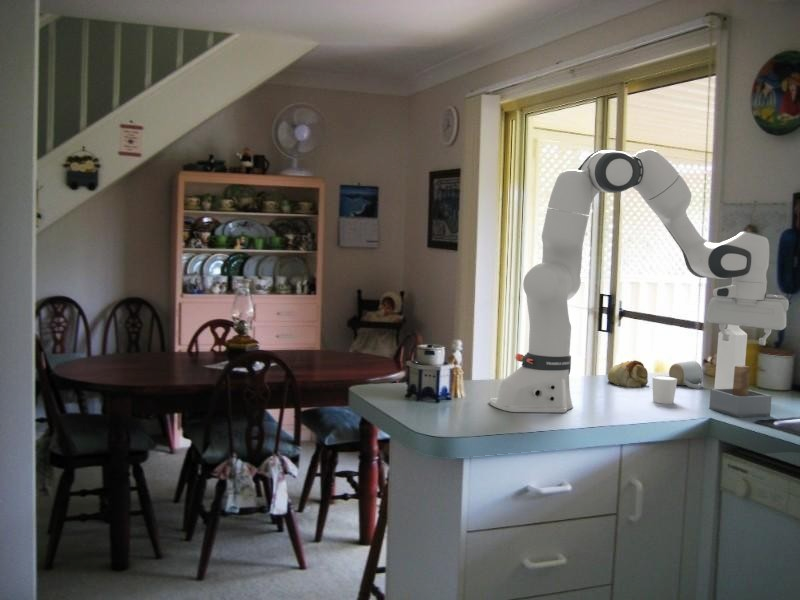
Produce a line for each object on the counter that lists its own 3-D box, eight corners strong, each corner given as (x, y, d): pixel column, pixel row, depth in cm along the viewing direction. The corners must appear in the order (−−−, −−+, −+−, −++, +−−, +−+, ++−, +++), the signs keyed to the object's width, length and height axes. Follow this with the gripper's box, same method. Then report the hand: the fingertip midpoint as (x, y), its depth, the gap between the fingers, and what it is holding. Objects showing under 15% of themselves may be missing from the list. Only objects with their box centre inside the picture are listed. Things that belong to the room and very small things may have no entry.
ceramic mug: (666, 383, 276) (668, 359, 275) (686, 382, 279) (688, 359, 278) (688, 390, 266) (690, 365, 265) (709, 389, 269) (711, 365, 268)
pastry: (645, 389, 263) (646, 364, 262) (604, 385, 268) (605, 360, 267) (650, 382, 276) (651, 358, 275) (611, 378, 281) (612, 354, 280)
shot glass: (677, 404, 240) (678, 380, 240) (651, 403, 242) (653, 378, 241) (674, 400, 247) (676, 376, 246) (649, 398, 248) (651, 374, 248)
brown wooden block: (736, 410, 232) (740, 367, 231) (731, 409, 234) (734, 365, 233) (746, 410, 233) (750, 366, 232) (741, 408, 235) (744, 365, 234)
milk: (713, 394, 260) (718, 322, 258) (725, 392, 263) (730, 321, 262) (731, 397, 255) (736, 324, 253) (743, 395, 258) (748, 323, 257)
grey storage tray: (737, 417, 227) (738, 397, 226) (709, 408, 237) (710, 389, 236) (770, 415, 230) (771, 395, 230) (741, 407, 241) (742, 388, 240)
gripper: (791, 295, 228) (786, 346, 229) (712, 288, 239) (708, 337, 240) (787, 296, 223) (782, 348, 224) (707, 289, 234) (702, 339, 235)
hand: (743, 342), depth 232 cm, fingers open, 8 cm apart
